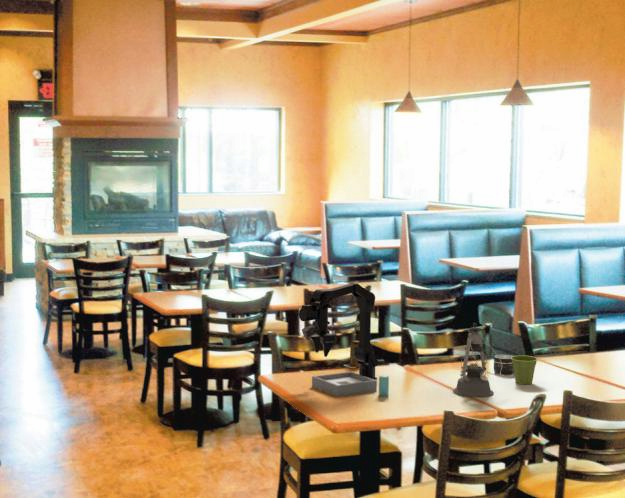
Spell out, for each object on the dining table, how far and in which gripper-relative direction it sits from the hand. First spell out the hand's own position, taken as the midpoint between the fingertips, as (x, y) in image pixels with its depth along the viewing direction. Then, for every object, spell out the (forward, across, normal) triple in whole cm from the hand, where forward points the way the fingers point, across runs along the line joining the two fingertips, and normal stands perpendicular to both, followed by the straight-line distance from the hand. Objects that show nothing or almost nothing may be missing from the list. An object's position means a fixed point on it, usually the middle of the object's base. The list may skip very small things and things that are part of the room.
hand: (321, 354), depth 422 cm
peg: (+14, +24, +18) cm, 33 cm away
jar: (+15, +6, +91) cm, 93 cm away
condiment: (+15, -33, +32) cm, 48 cm away
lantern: (+15, +35, +57) cm, 68 cm away
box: (+14, +7, +8) cm, 18 cm away
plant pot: (+15, +26, +87) cm, 92 cm away
